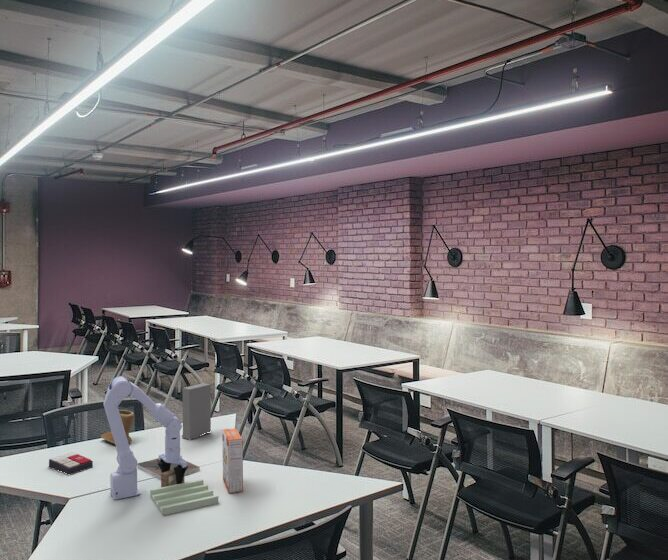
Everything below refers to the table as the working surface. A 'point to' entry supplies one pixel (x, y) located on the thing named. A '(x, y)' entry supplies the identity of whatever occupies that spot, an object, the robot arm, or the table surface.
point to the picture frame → (154, 469)
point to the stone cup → (127, 423)
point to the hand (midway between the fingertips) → (172, 481)
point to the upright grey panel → (196, 410)
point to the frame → (169, 478)
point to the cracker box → (232, 460)
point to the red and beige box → (70, 463)
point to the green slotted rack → (183, 497)
